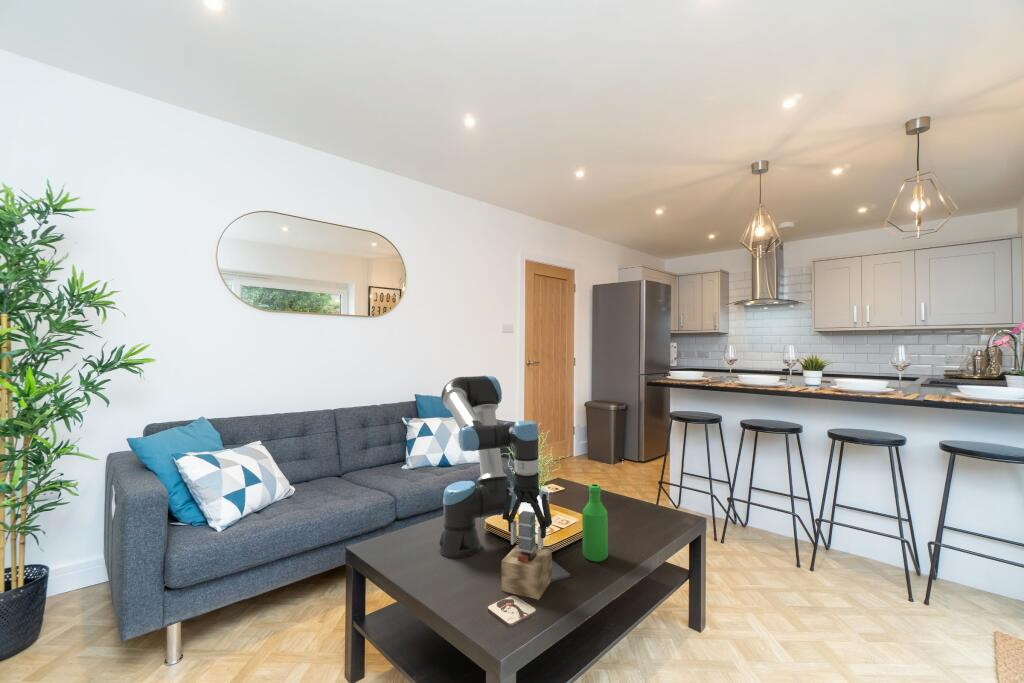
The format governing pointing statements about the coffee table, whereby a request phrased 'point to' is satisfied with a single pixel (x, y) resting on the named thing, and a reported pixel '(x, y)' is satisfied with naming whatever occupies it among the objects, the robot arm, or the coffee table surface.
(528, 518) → the column
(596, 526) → the bottle
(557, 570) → the smartphone
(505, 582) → the housing
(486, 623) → the coffee table surface
